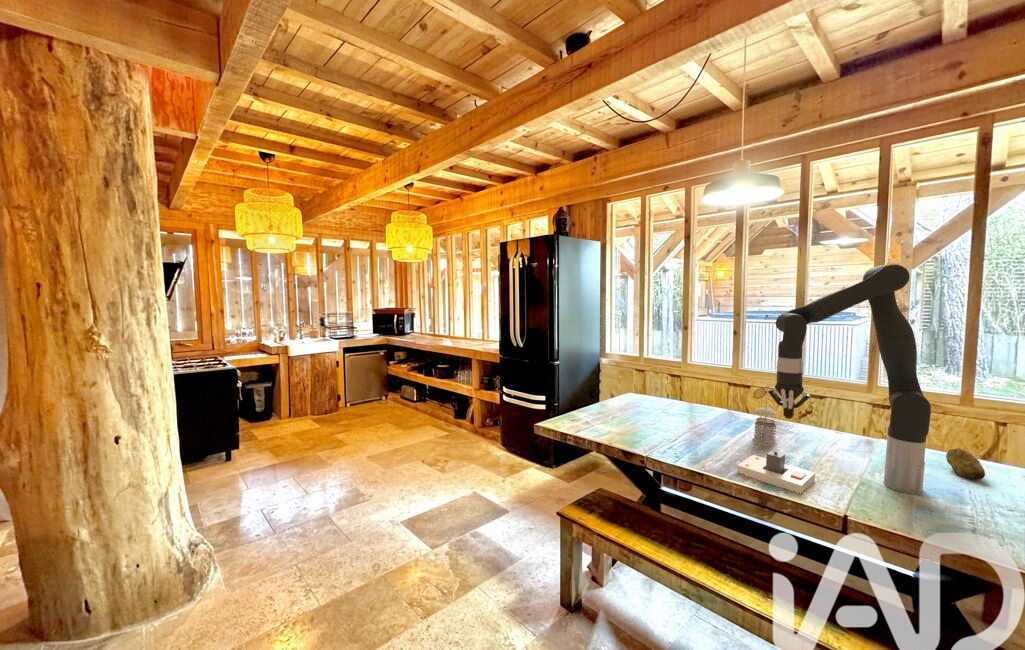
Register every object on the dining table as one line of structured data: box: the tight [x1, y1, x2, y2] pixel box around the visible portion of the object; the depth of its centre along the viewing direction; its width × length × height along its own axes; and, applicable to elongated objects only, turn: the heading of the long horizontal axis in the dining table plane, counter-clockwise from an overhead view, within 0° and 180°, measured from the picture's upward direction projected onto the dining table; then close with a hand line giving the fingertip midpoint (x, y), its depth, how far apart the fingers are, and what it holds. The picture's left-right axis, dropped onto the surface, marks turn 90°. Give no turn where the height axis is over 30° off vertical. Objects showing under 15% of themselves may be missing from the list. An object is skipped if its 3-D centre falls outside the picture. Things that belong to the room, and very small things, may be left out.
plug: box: [765, 450, 786, 475], centre depth 146 cm, size 4×4×9 cm
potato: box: [945, 448, 986, 481], centre depth 147 cm, size 8×13×8 cm, turn 143°
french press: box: [751, 385, 779, 447], centre depth 176 cm, size 10×12×25 cm
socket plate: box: [736, 454, 816, 495], centre depth 146 cm, size 20×14×4 cm
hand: (788, 418), depth 146 cm, fingers closed
